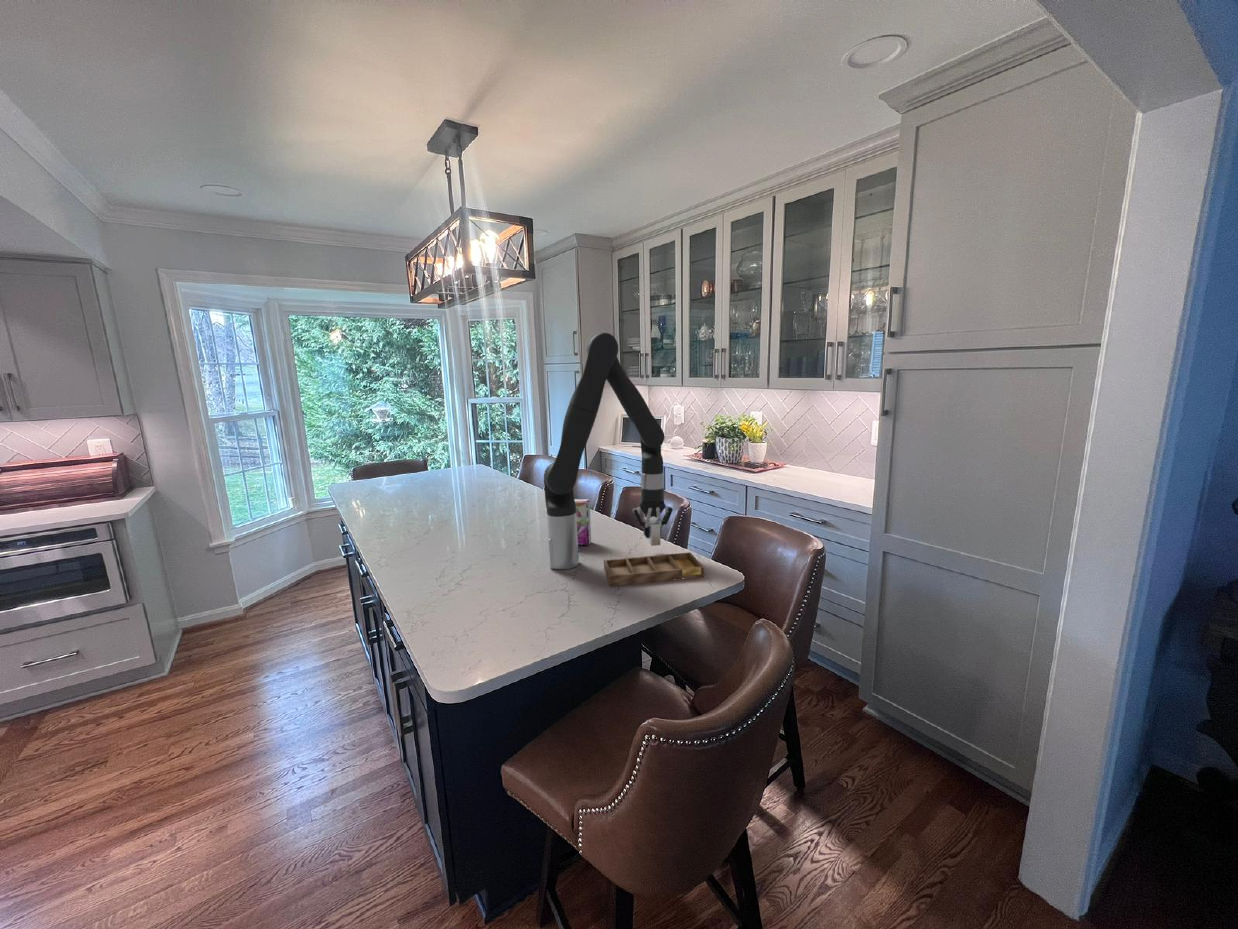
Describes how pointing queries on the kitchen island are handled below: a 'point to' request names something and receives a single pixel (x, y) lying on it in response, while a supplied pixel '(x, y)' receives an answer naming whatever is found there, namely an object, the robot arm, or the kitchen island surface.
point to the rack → (652, 569)
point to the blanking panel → (654, 532)
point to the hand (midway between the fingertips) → (652, 537)
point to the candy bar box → (583, 521)
